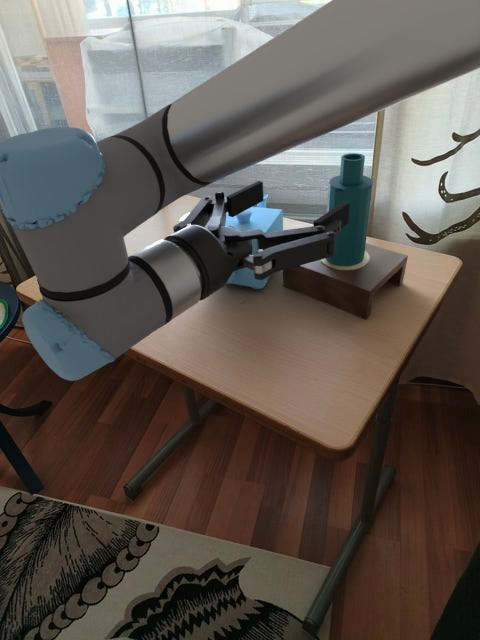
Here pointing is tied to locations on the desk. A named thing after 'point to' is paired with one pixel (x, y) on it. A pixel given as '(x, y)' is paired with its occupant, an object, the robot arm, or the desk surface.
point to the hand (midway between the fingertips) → (300, 200)
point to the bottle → (351, 209)
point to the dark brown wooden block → (348, 279)
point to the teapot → (253, 221)
